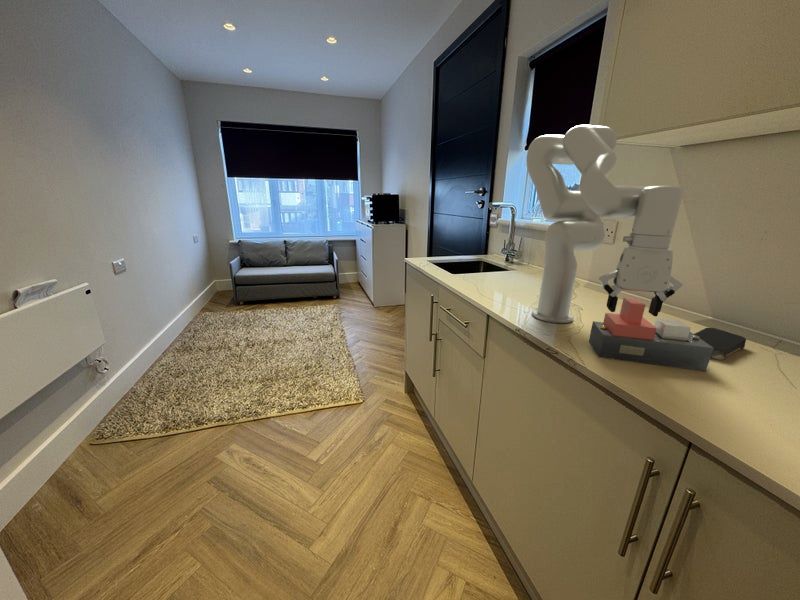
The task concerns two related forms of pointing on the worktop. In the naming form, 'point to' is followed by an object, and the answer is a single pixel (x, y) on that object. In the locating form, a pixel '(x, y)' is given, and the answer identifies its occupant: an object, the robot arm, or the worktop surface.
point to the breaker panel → (654, 346)
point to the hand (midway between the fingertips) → (631, 312)
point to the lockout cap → (630, 321)
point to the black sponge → (721, 342)
